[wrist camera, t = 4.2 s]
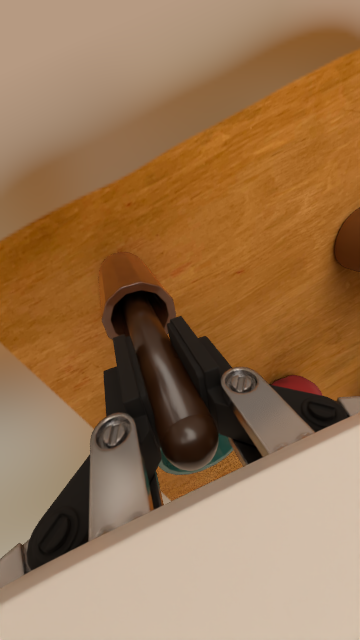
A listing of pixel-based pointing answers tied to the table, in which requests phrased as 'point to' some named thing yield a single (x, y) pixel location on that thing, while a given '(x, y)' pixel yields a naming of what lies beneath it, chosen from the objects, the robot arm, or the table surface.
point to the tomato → (298, 384)
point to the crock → (127, 277)
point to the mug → (349, 242)
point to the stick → (170, 390)
